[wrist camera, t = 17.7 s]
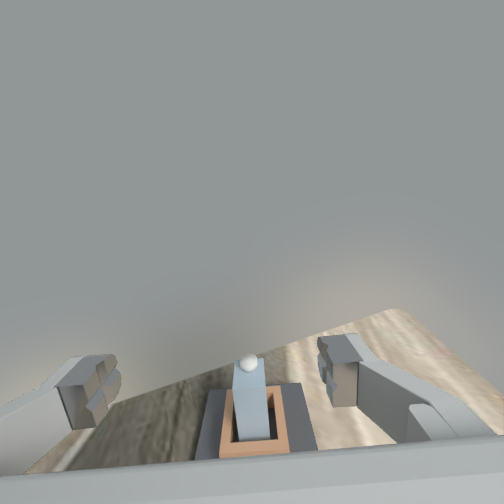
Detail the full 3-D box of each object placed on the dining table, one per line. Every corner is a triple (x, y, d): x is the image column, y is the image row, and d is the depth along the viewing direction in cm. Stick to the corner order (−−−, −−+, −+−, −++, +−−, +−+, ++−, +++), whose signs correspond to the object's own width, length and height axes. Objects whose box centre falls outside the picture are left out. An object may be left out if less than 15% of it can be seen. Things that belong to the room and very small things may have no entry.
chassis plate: (186, 519, 26) (179, 490, 25) (210, 396, 41) (206, 375, 40) (331, 509, 26) (330, 480, 24) (301, 389, 41) (300, 368, 40)
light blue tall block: (240, 451, 31) (231, 382, 28) (242, 416, 36) (234, 354, 33) (271, 449, 31) (264, 380, 28) (268, 414, 35) (262, 352, 33)
